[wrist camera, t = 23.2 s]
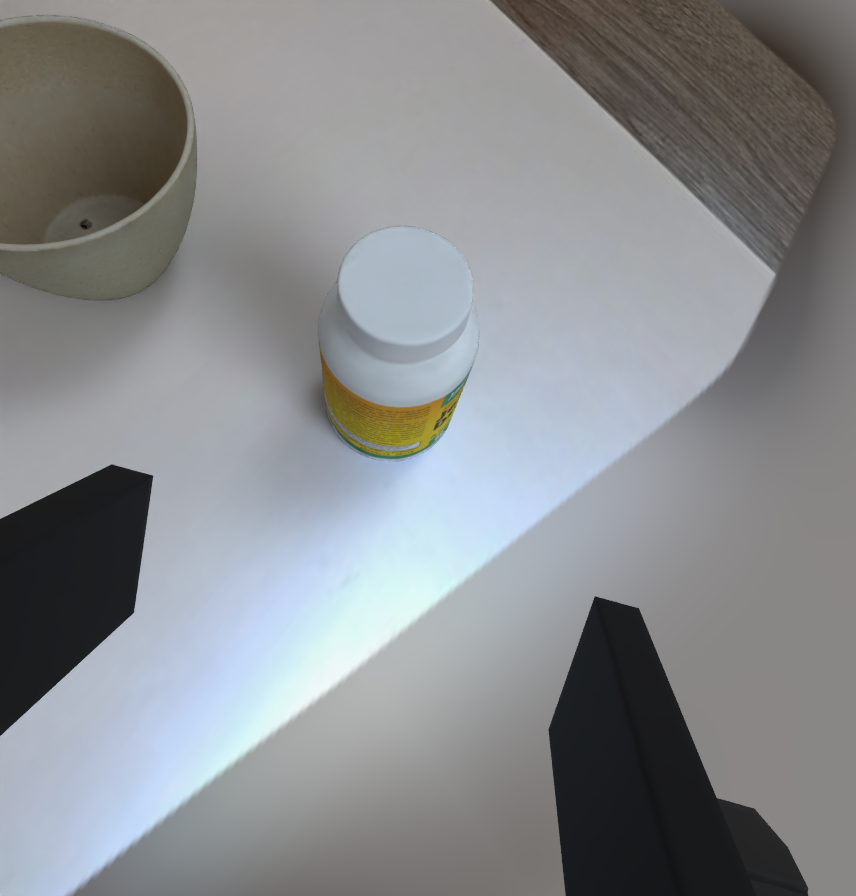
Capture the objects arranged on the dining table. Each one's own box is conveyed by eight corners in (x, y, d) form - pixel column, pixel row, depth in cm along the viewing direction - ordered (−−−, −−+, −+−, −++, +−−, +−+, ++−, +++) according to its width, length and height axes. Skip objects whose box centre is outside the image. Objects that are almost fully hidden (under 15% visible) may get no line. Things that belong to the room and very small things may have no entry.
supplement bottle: (338, 337, 29) (332, 187, 20) (459, 359, 30) (507, 220, 21) (313, 453, 28) (295, 346, 19) (442, 476, 28) (486, 380, 19)
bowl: (265, 298, 30) (240, 186, 23) (32, 389, 27) (-72, 295, 20) (176, 128, 32) (130, -18, 25) (-45, 199, 29) (-162, 58, 23)
